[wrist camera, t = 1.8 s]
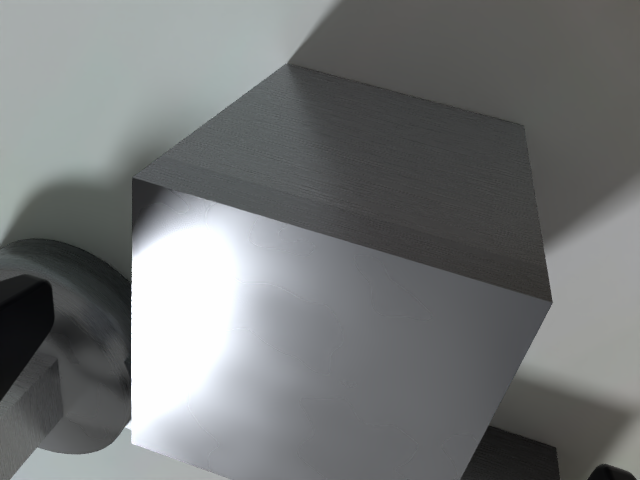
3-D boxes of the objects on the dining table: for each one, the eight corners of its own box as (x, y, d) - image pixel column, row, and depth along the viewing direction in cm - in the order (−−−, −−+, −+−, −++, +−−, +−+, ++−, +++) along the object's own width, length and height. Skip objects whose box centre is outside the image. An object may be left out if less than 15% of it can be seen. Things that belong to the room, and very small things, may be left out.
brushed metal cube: (523, 125, 13) (553, 303, 7) (447, 315, 16) (424, 548, 10) (285, 63, 13) (132, 177, 8) (257, 257, 16) (131, 443, 10)
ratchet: (-3, 365, 22) (-165, 514, 17) (-30, 213, 18) (-251, 340, 13) (495, 541, 20) (498, 783, 14) (581, 408, 16) (630, 665, 10)
